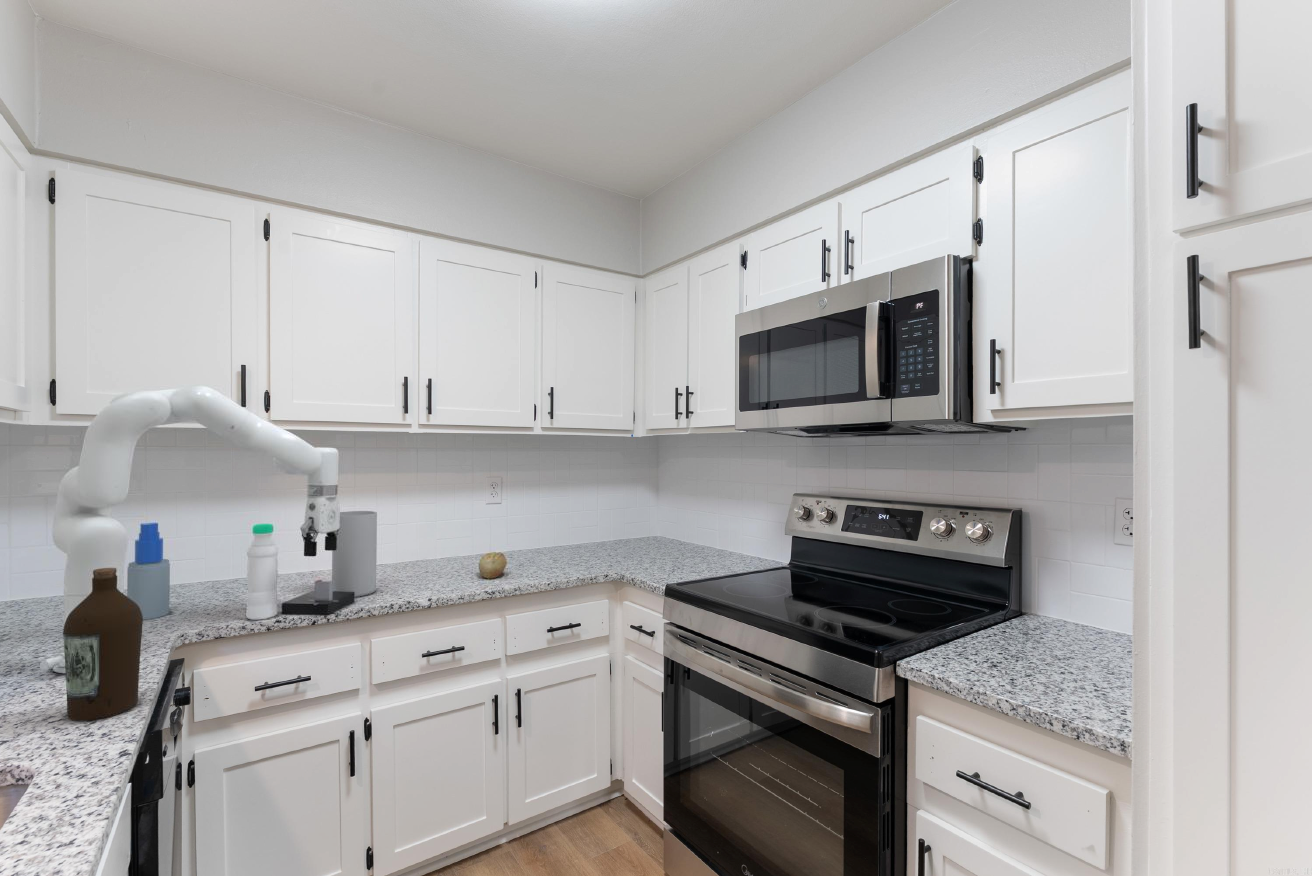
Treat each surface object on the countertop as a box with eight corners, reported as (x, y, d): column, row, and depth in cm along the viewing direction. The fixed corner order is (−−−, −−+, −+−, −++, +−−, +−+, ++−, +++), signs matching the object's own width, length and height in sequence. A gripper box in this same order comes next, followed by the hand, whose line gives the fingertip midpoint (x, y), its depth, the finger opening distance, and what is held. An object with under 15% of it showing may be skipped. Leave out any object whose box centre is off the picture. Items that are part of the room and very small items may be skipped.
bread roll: (507, 570, 231) (507, 548, 231) (505, 579, 216) (505, 556, 216) (480, 571, 229) (481, 549, 229) (476, 580, 214) (477, 556, 214)
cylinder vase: (383, 588, 201) (383, 511, 201) (364, 598, 189) (365, 515, 189) (344, 587, 202) (345, 510, 202) (323, 597, 189) (324, 515, 189)
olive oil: (108, 695, 117) (110, 562, 117) (157, 699, 116) (158, 564, 116) (45, 720, 107) (46, 574, 107) (97, 725, 105) (99, 577, 105)
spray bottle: (120, 621, 163) (121, 525, 163) (135, 612, 172) (136, 521, 172) (162, 618, 167) (163, 524, 167) (174, 609, 175) (175, 520, 175)
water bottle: (262, 621, 165) (263, 526, 165) (239, 619, 166) (240, 525, 166) (283, 614, 172) (284, 523, 172) (261, 612, 173) (262, 522, 173)
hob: (329, 616, 170) (329, 604, 170) (278, 615, 170) (278, 603, 170) (358, 601, 185) (358, 591, 185) (311, 600, 186) (312, 590, 186)
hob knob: (332, 600, 175) (332, 579, 175) (329, 601, 173) (329, 581, 173) (317, 599, 175) (318, 579, 175) (314, 601, 174) (314, 580, 174)
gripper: (317, 494, 165) (315, 558, 165) (352, 490, 182) (350, 548, 182) (289, 493, 166) (287, 558, 165) (327, 489, 183) (325, 547, 182)
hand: (320, 553), depth 174 cm, fingers open, 9 cm apart
